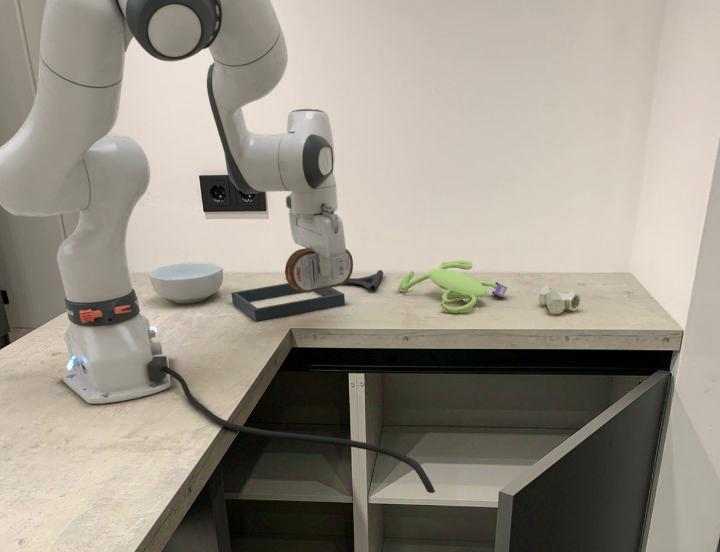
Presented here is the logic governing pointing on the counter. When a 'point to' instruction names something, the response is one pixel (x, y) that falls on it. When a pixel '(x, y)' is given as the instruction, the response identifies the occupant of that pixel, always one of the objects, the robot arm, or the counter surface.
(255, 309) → the tray
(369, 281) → the bracket
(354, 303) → the counter surface
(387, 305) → the counter surface
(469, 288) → the figurine
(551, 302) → the pipe fitting
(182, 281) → the cereal bowl
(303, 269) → the tin
